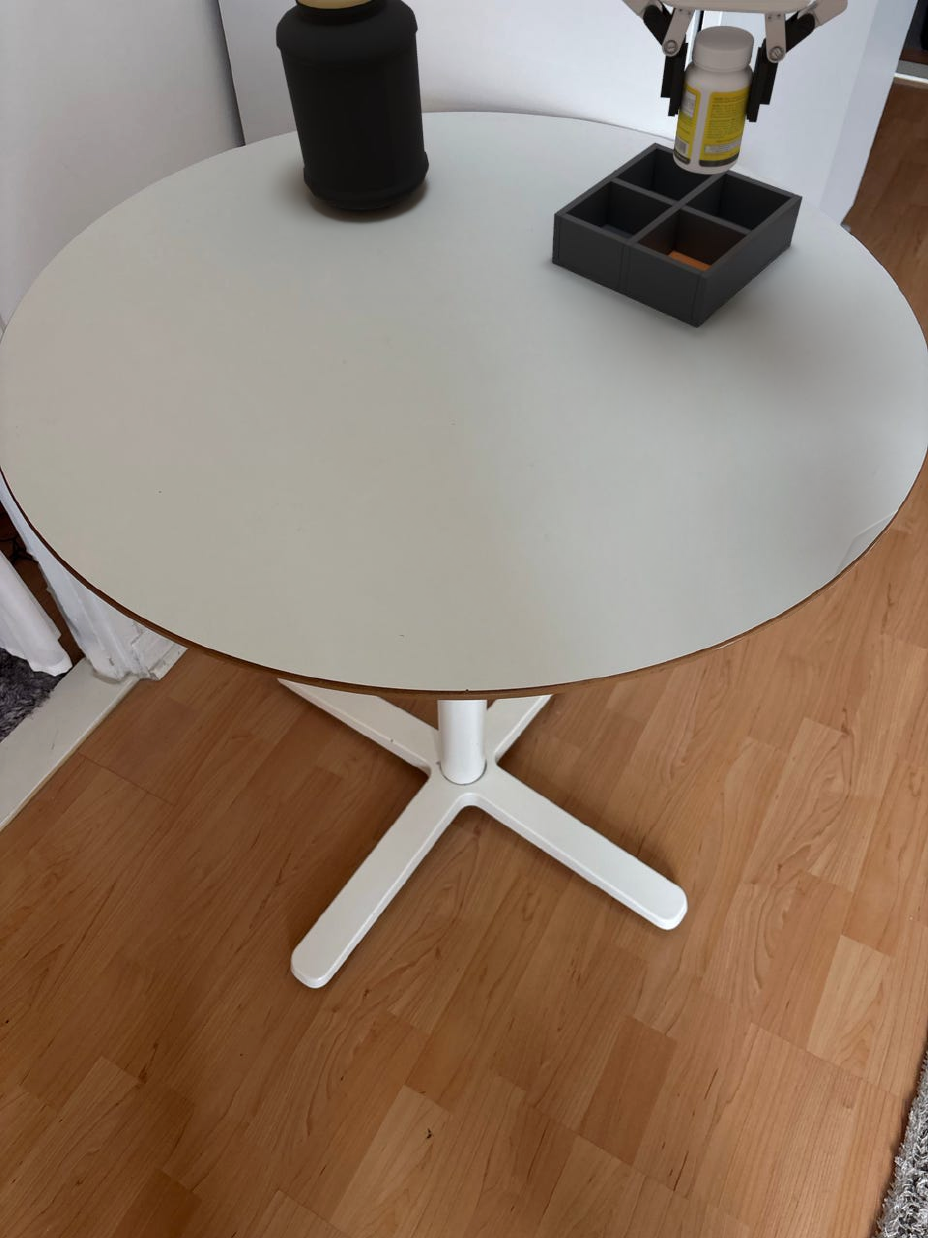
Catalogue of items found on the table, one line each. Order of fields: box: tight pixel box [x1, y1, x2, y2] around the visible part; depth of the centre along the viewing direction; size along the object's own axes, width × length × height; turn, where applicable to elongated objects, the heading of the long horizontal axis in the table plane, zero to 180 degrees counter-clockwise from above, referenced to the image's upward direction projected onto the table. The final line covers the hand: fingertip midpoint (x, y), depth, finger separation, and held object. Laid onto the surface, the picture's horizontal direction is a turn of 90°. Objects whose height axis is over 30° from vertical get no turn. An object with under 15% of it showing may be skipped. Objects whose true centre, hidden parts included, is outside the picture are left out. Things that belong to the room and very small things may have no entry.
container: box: [275, 0, 430, 211], centre depth 86 cm, size 12×12×18 cm
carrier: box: [551, 142, 804, 328], centre depth 83 cm, size 15×15×4 cm
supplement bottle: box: [673, 25, 755, 174], centre depth 70 cm, size 5×5×8 cm
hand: (713, 107), depth 70 cm, fingers closed on supplement bottle, 4 cm apart
